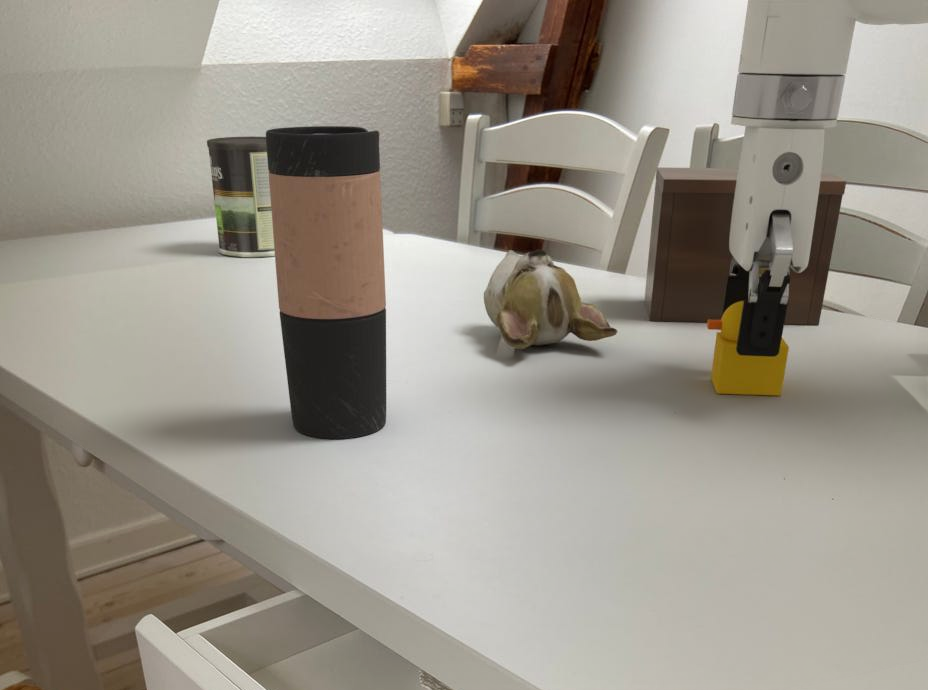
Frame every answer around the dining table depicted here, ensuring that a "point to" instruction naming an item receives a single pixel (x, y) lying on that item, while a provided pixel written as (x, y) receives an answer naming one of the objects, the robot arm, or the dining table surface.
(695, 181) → the wooden nightstand cabinet
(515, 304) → the ceramic sculpture
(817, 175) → the robot arm
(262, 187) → the coffee can
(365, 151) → the travel mug
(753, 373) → the duck
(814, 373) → the dining table surface
